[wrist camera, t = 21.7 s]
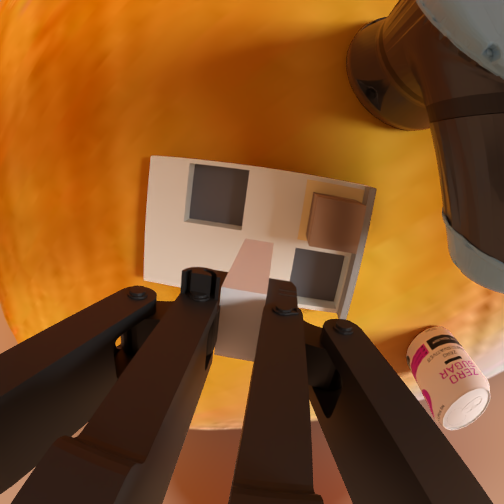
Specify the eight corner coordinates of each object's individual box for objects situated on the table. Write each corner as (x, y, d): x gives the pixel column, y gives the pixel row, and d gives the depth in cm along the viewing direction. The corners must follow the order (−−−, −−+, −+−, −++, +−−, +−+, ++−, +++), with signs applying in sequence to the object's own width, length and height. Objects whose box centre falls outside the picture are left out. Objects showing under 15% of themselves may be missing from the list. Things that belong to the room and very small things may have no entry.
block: (305, 234, 36) (308, 246, 31) (313, 191, 35) (317, 196, 30) (347, 241, 36) (356, 254, 31) (355, 199, 34) (366, 206, 30)
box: (150, 273, 42) (137, 285, 38) (158, 155, 38) (144, 155, 33) (339, 305, 41) (345, 321, 37) (366, 185, 36) (376, 188, 32)
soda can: (418, 376, 43) (449, 441, 29) (395, 348, 42) (428, 416, 28) (457, 345, 41) (499, 403, 27) (438, 314, 40) (485, 372, 26)
